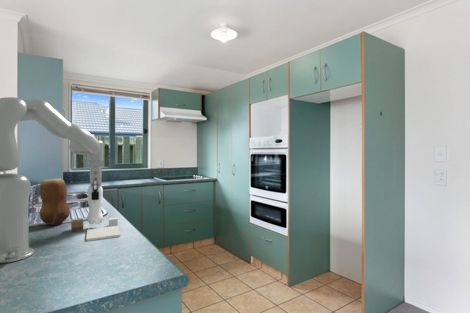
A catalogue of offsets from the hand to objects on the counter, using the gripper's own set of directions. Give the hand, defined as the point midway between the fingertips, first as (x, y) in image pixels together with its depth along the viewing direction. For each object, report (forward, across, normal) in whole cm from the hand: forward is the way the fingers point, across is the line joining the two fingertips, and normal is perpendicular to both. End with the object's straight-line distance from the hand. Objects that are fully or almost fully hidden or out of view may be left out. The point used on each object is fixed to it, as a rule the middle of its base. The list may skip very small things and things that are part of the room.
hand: (95, 198), depth 139 cm
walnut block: (+16, +1, +8) cm, 18 cm away
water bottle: (+13, 0, 0) cm, 13 cm away
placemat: (+16, -12, -4) cm, 20 cm away
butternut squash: (+16, +18, +19) cm, 31 cm away
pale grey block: (+15, +1, -9) cm, 18 cm away
